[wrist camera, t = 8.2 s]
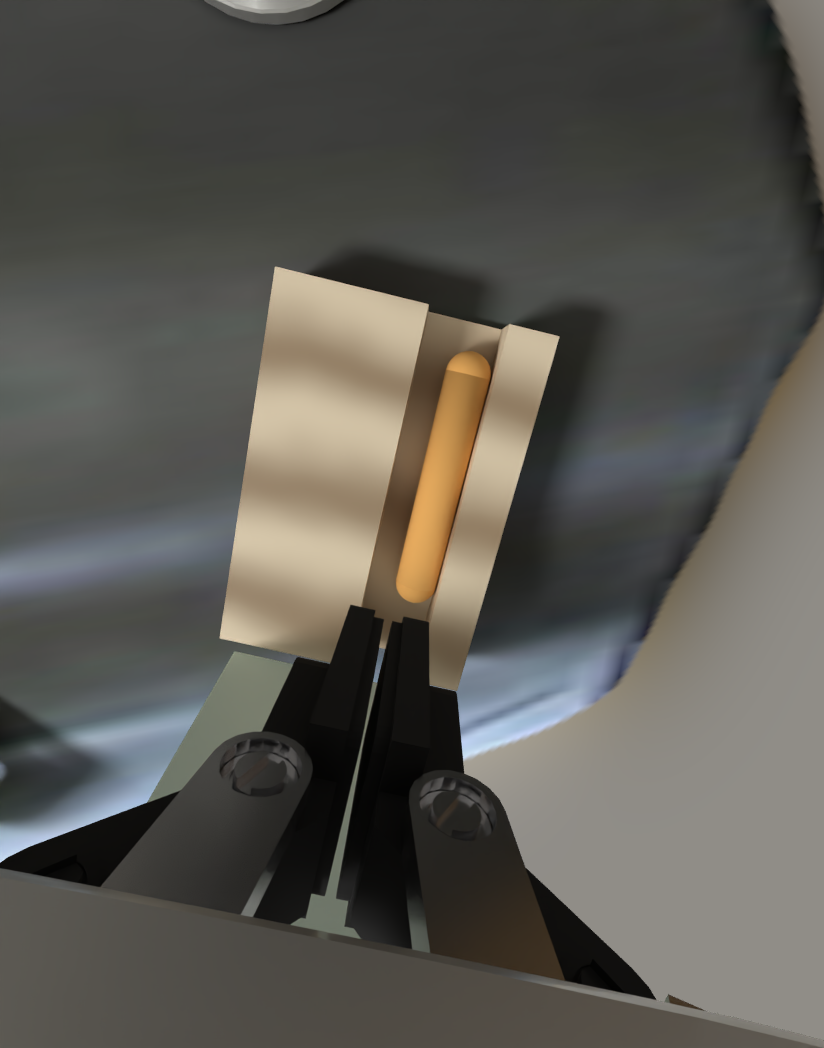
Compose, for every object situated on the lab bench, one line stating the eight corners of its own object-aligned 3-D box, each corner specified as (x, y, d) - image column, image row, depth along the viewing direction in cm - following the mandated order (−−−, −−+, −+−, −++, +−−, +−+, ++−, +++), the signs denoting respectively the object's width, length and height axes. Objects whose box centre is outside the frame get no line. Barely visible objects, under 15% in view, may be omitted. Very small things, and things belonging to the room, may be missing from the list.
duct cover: (-13, 1079, 14) (-9, 1094, 15) (423, 1162, 15) (415, 1175, 15) (234, 651, 31) (233, 664, 31) (438, 696, 31) (434, 709, 31)
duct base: (293, 279, 29) (275, 266, 25) (544, 341, 29) (559, 336, 26) (240, 612, 34) (219, 638, 31) (454, 660, 34) (456, 690, 31)
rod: (451, 347, 29) (450, 344, 27) (494, 358, 29) (497, 355, 27) (394, 588, 33) (389, 603, 31) (432, 597, 33) (430, 613, 30)
